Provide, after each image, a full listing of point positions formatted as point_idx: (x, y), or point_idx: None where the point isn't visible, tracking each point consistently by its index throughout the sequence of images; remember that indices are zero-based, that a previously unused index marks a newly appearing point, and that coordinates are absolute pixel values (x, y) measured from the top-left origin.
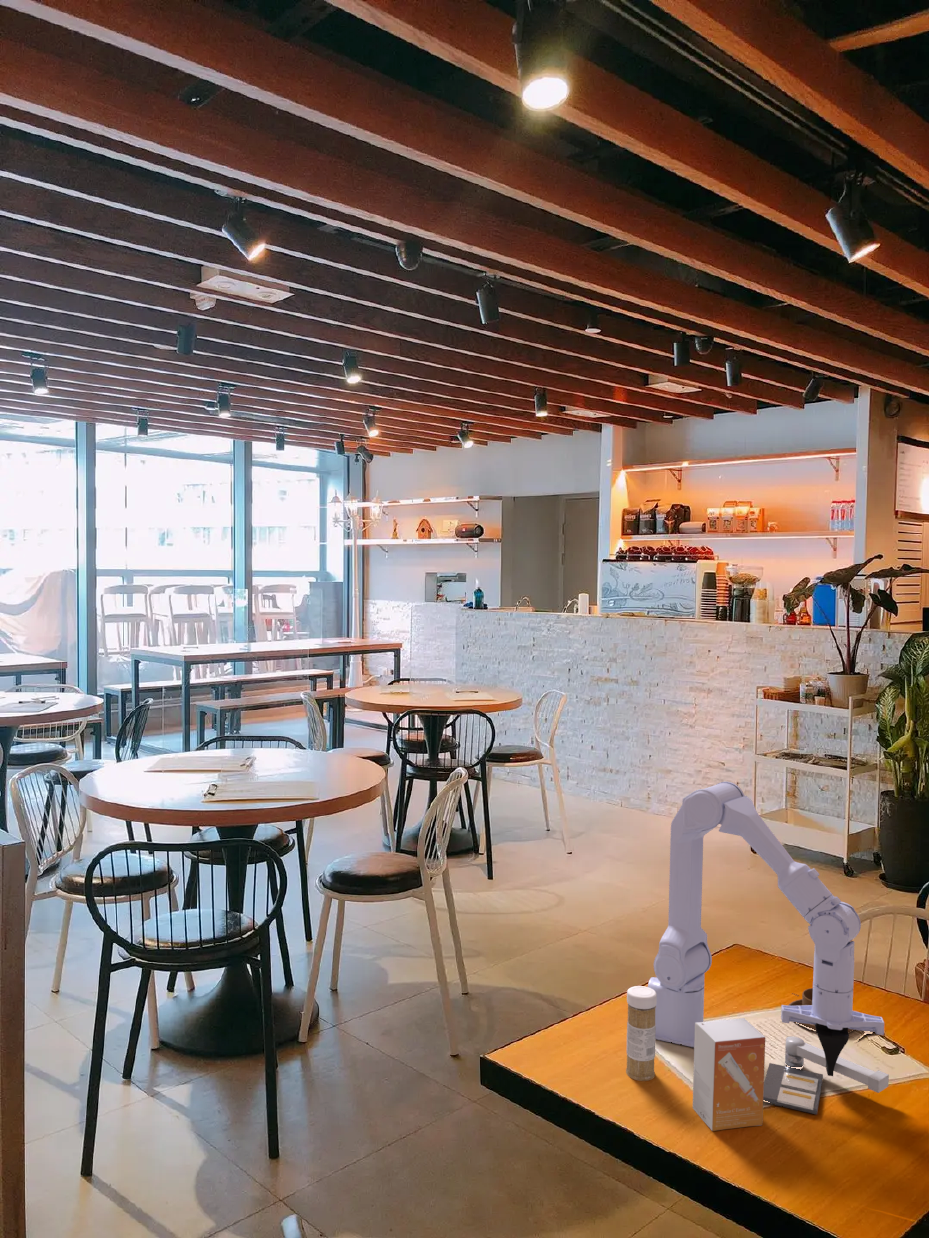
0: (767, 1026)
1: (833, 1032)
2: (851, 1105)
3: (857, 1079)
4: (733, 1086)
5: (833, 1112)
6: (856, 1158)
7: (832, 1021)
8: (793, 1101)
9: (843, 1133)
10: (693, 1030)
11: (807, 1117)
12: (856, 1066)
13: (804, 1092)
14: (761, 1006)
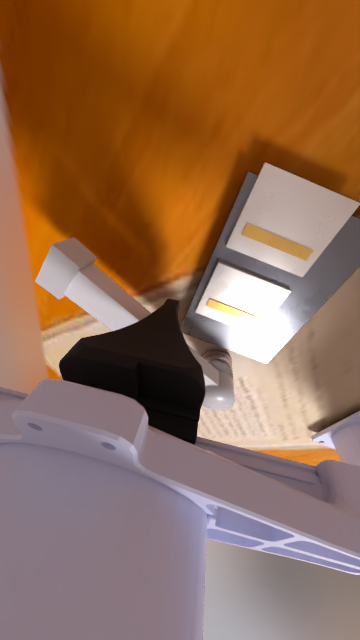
0: (215, 430)
1: (126, 387)
2: (147, 240)
3: (115, 285)
4: None
5: (195, 201)
6: None
7: (95, 458)
8: (308, 200)
9: (202, 51)
10: None
11: (278, 157)
12: (108, 316)
13: (250, 255)
14: None
